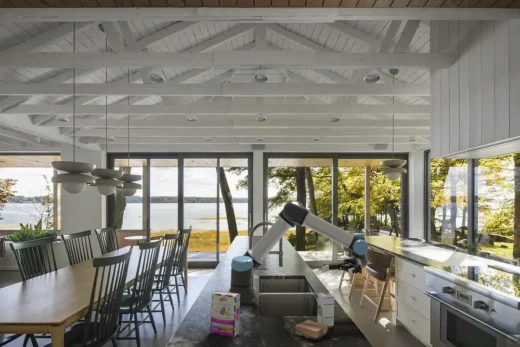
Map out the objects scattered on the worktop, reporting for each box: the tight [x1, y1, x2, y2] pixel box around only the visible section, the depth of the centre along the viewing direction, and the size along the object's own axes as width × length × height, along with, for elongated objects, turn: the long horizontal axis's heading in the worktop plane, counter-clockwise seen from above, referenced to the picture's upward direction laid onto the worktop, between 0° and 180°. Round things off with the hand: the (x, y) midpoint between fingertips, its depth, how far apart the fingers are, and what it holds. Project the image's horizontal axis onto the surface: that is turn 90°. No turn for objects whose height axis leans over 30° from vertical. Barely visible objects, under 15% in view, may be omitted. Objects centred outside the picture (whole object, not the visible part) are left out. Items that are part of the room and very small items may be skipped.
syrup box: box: [316, 292, 335, 326], centre depth 163 cm, size 6×6×14 cm
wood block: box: [294, 319, 329, 338], centre depth 153 cm, size 10×10×4 cm
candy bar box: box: [209, 290, 241, 338], centre depth 150 cm, size 11×5×16 cm, turn 69°
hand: (335, 271), depth 175 cm, fingers open, 13 cm apart
